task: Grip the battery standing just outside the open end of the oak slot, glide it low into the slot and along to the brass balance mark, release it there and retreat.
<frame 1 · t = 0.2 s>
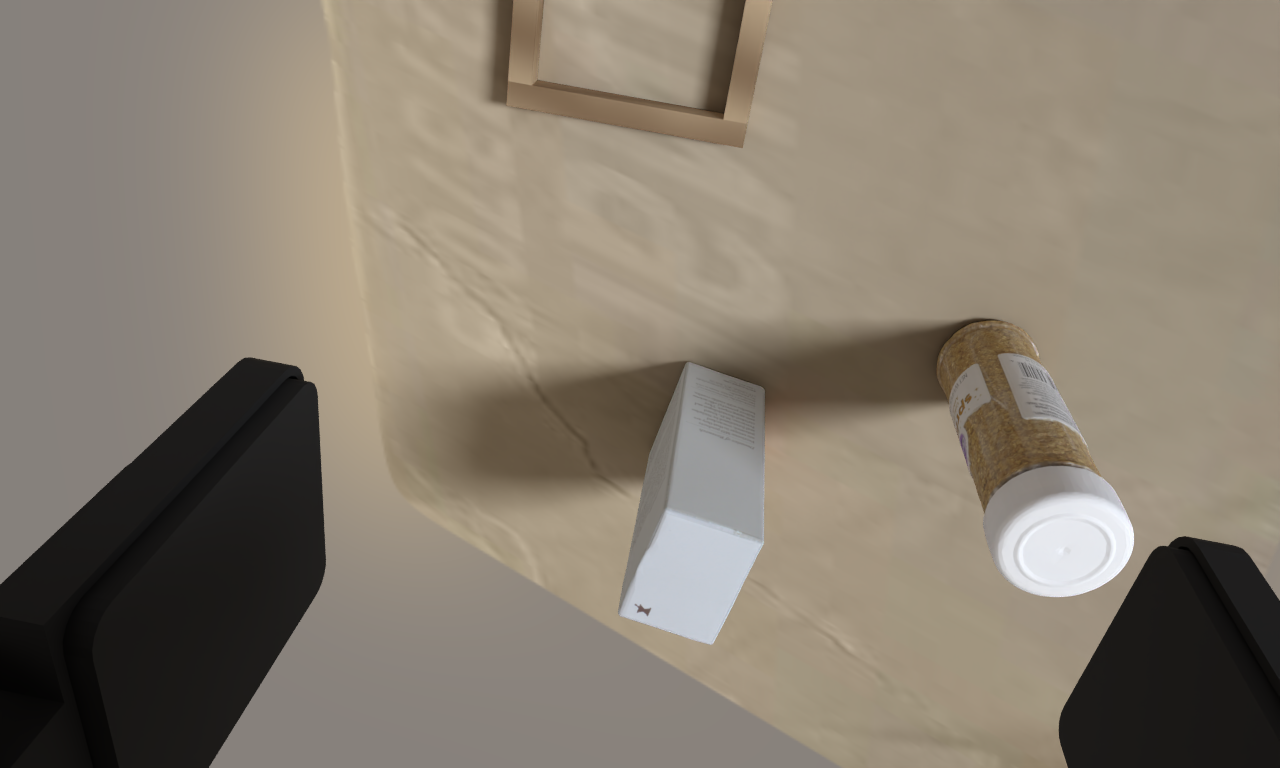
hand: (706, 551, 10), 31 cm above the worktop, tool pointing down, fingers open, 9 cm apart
skincare box: (707, 417, 46), on the worktop
sprinkles bottle: (985, 359, 42), on the worktop
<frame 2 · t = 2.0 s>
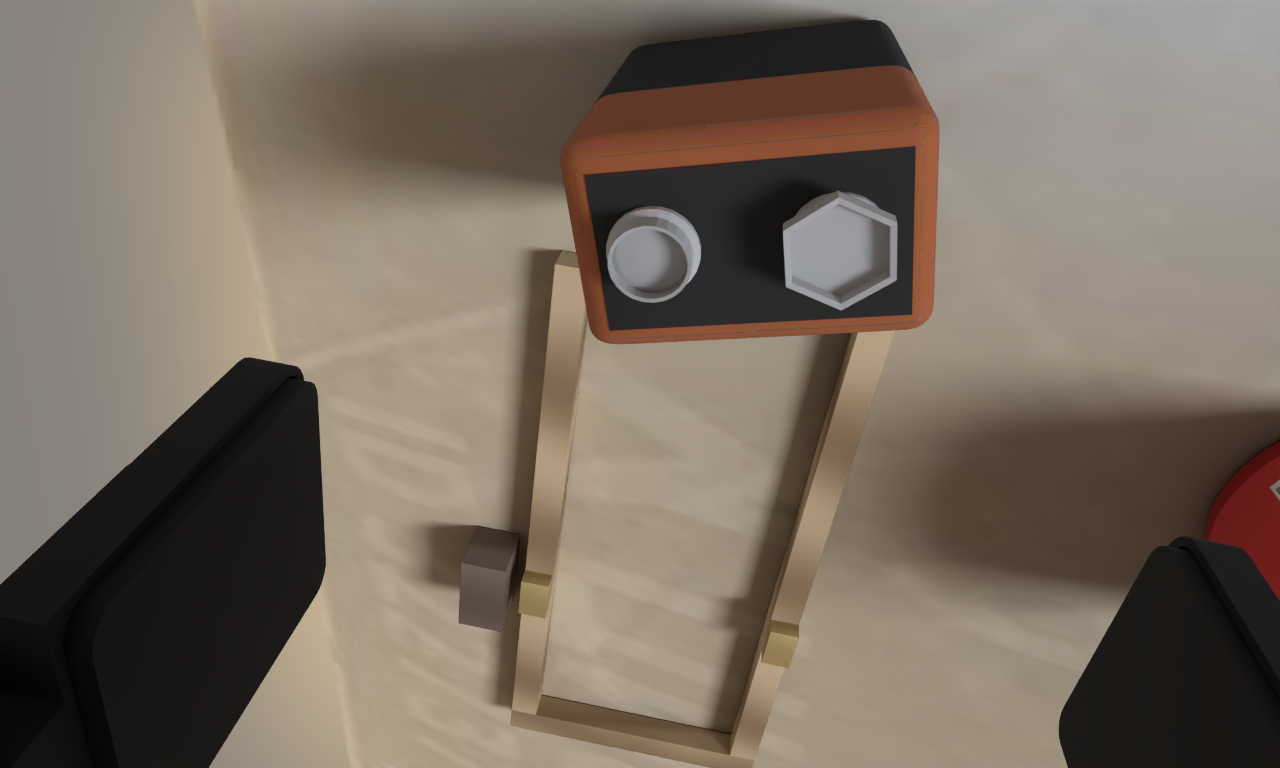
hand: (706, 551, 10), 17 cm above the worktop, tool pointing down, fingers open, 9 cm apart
battery: (760, 111, 25), on the worktop
track: (673, 533, 33), on the worktop
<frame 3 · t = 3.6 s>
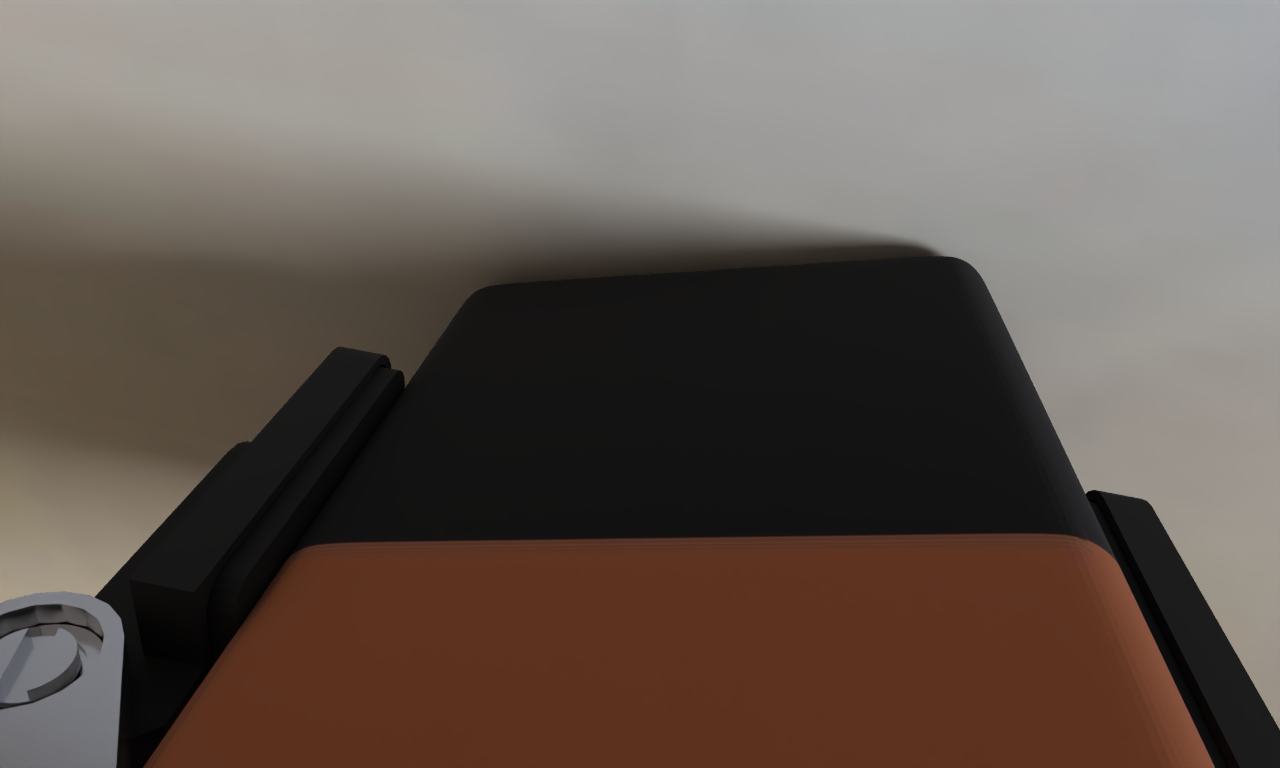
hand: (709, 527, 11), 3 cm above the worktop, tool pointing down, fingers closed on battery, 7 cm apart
battery: (723, 392, 13), on the worktop, touching gripper
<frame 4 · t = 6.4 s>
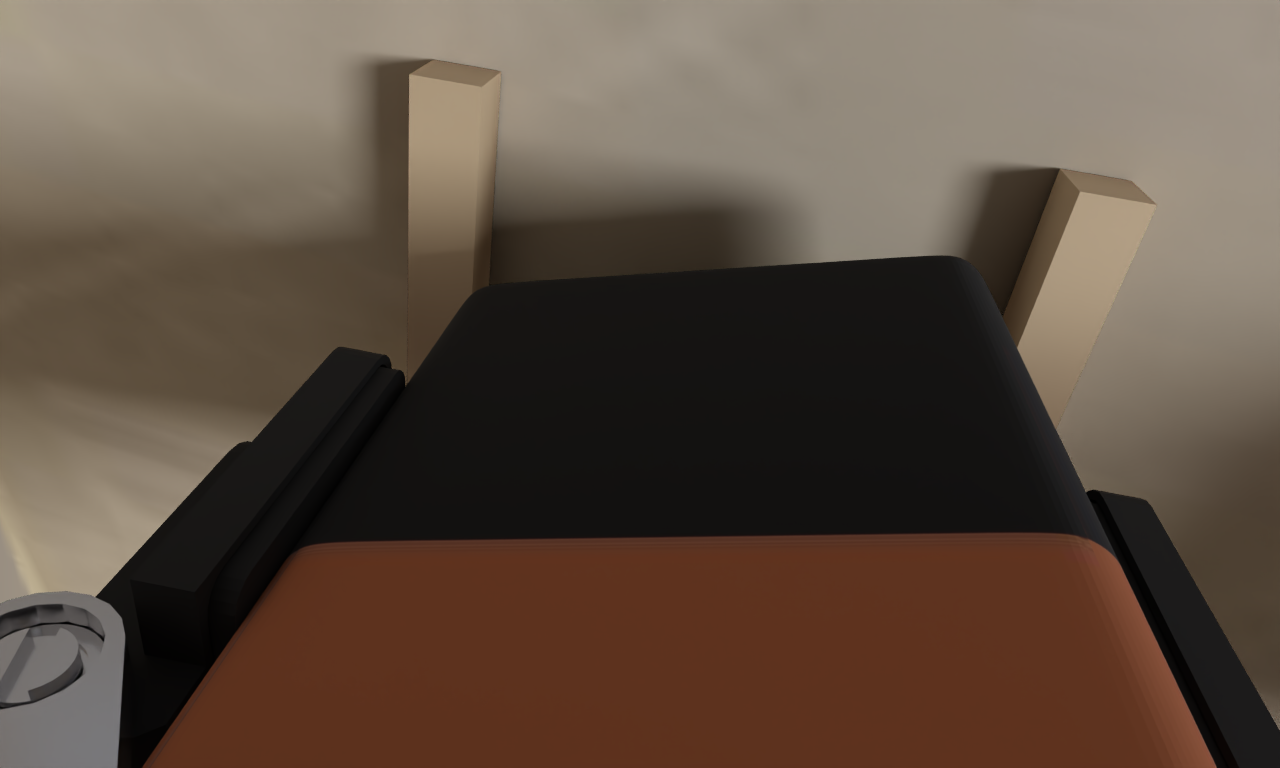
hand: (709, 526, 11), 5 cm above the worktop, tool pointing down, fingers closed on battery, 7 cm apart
battery: (723, 392, 13), point 2 cm above the worktop, touching gripper
track: (668, 622, 18), on the worktop
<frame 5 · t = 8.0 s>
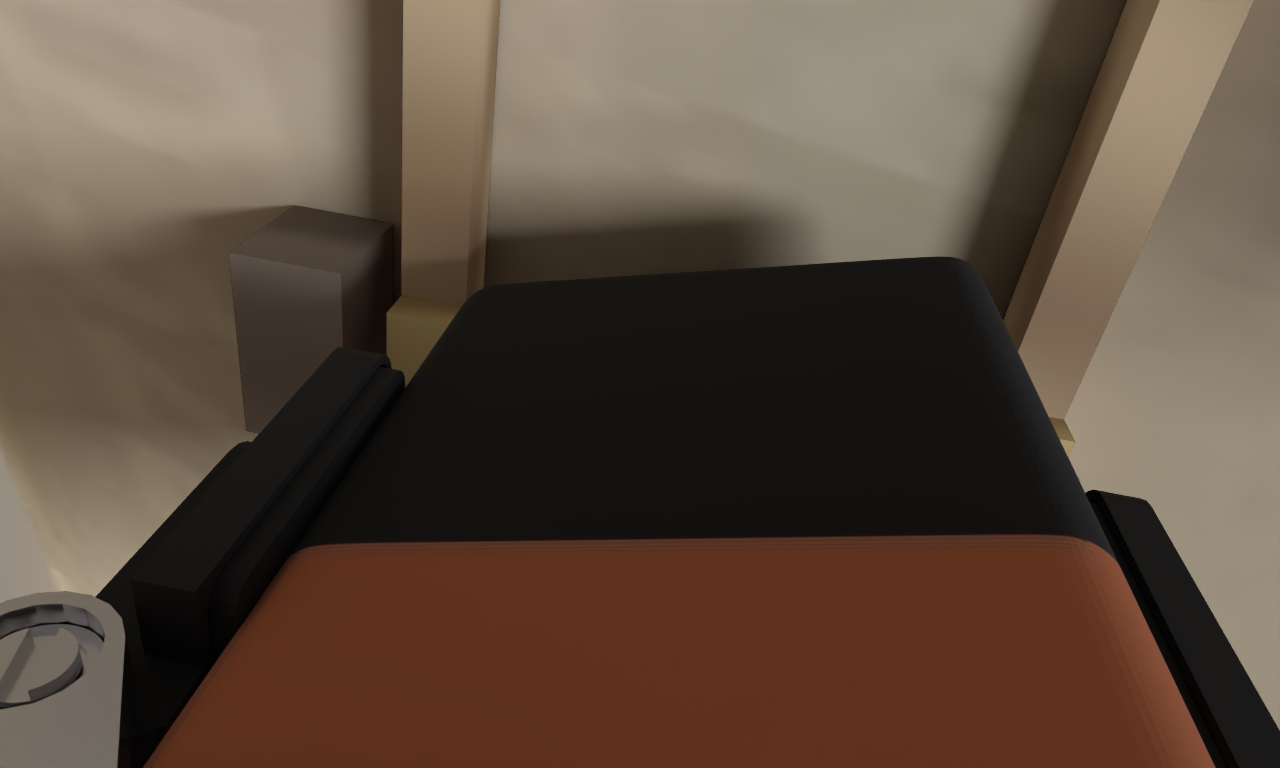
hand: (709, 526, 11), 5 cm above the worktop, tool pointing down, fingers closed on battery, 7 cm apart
battery: (723, 393, 13), point 2 cm above the worktop, touching gripper
track: (759, 194, 13), on the worktop
when the fingers open (3 cm above the worktop, at t = 9.4 s): battery stays where it is, resting in track.
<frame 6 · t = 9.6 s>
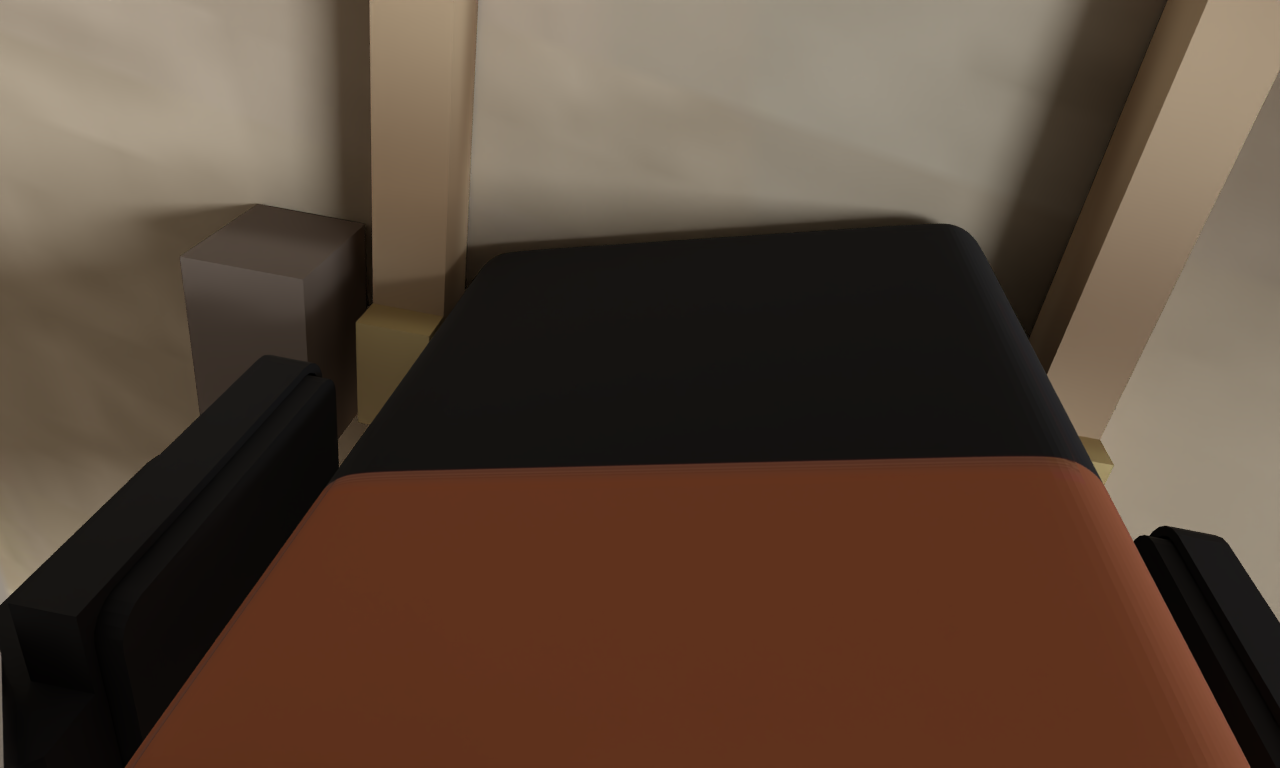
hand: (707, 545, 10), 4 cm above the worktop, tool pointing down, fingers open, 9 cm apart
battery: (729, 359, 14), resting in track
track: (765, 192, 12), on the worktop
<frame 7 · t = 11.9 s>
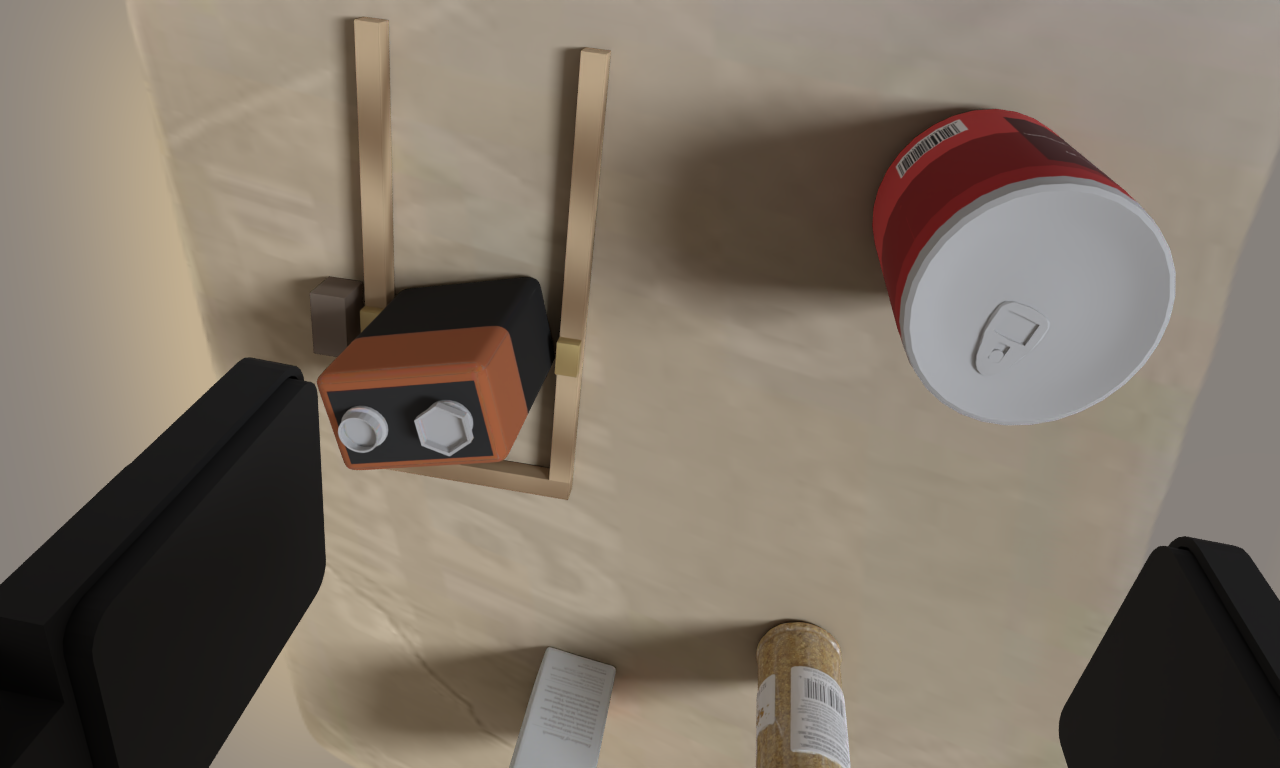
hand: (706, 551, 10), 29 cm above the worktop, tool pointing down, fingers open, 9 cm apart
skincare box: (571, 687, 53), on the worktop
battery: (480, 321, 42), resting in track
track: (480, 269, 41), on the worktop
sprinkles bottle: (799, 648, 49), on the worktop
canned food: (967, 203, 37), on the worktop
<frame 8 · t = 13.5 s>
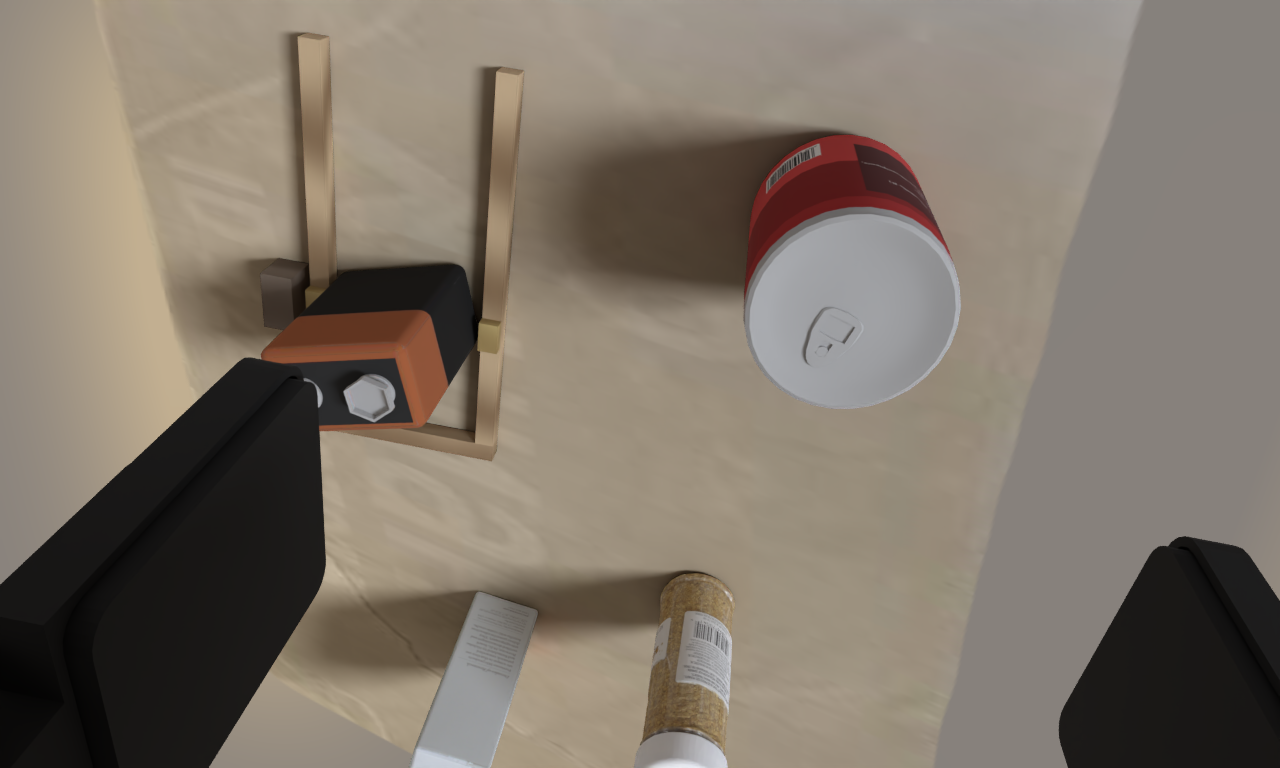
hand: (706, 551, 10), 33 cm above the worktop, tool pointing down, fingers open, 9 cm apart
skincare box: (499, 627, 59), on the worktop
battery: (414, 302, 48), resting in track
track: (412, 256, 46), on the worktop
sprinkles bottle: (698, 596, 55), on the worktop
canned food: (833, 213, 42), on the worktop
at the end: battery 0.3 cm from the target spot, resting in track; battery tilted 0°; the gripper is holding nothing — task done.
